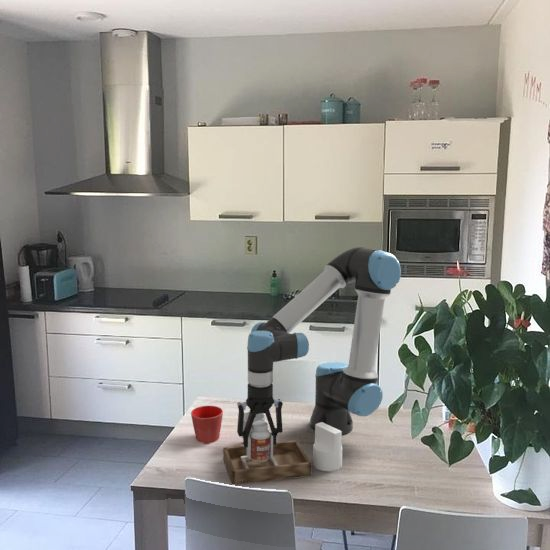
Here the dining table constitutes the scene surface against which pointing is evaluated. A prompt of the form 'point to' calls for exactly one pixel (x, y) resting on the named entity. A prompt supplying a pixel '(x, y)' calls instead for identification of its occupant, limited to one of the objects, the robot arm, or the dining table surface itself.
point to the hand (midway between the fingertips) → (259, 455)
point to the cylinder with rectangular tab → (327, 448)
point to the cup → (258, 418)
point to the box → (267, 464)
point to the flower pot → (207, 423)
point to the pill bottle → (260, 442)
